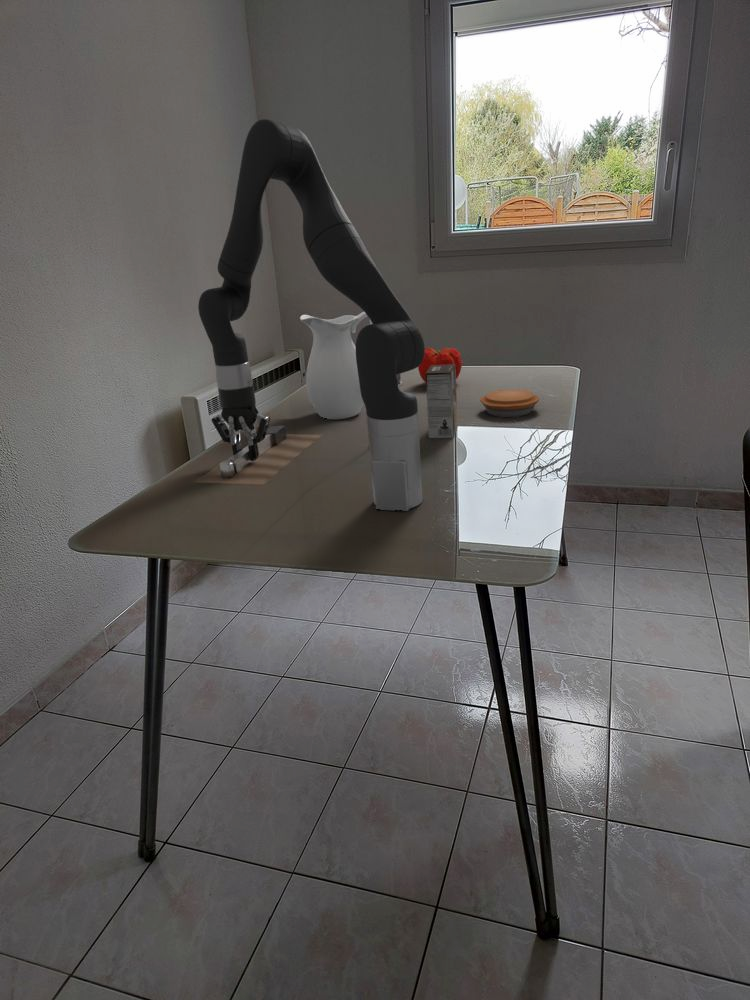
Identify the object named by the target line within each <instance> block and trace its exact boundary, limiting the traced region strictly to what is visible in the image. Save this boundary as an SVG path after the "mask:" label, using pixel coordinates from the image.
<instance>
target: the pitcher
mask: <svg viewBox="0 0 750 1000" xmlns="http://www.w3.org/2000/svg"><path fill="white" fill-rule="evenodd" d="M367 317H368V316H367V314H366V313H365V312H364V311H362V312H361V313H359V314H358V315H352V314H347V315H341V316H338V317H336V318H333V319H332V318H330V319H323V318H320V317H316V316H311V315H309V314H302V315H301V316H300V317H299V320H300V322H302V323H304V324H305V325H306V326H307V327H309V329H310V330H311V333H312V337H313V339H312V340H313V341H312V347H311V351H310V355H309V357H308V362H307V367H306V375H305V385H306V392H307V395H308V399H309V402H310V404H311V405H312V407H313V409H314V410H315V411H316V413H317V414H318V415H319V416H320V417H321V418H322V417H323V418H322V419H324V418H327V419H326V420H342V419H343V420H344V419H345V420H346V419H349V418H353V417H355V416H358V415H359V414H360V413H361V411H362V409H363V407H364V406H365V404H364V402H363V399H362V396H361V391H360V384H359V377H358V370H357V362H356V350H355V349H356V344H355V343H354V341H353V339H352V334H355V333H356V331H357V330H356V329H357V326H358V325H359V324H360V322H362V320H364V319H365V318H367ZM368 318H369V317H368ZM351 333H352V334H351Z"/></svg>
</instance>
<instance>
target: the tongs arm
mask: <svg viewBox="0 0 750 1000" xmlns="http://www.w3.org/2000/svg"><path fill="white" fill-rule="evenodd" d="M286 434H287V431H286V425H278V427H276V428H275V429H273V430H272V431H271V432H269V433H268V435H266V436H265V439H264V440H262V441H261V442H260V443H258V451H259V456H260V455H261V454H263V453H264V452H265V451H267V450H268V449H269V448H271V447H272V446H273V445H278V444H279V443H280V442H282V441H283V440H284V439H286V438H287V437H286ZM231 461H232V462H233V466H234V472H235V473H238V472H239V471H240V470H242V469H243V468H244V467H246V466H247V465H248V464H250V463H251V462H252V461H251V460H250V455H249V448H248V449H246V450H245V451H244V452H242V453H241V454H239V455H238V456H237V457H235V458H234V459H232V460H231Z"/></svg>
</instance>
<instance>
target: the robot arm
mask: <svg viewBox="0 0 750 1000" xmlns="http://www.w3.org/2000/svg"><path fill="white" fill-rule="evenodd" d="M244 142H245V143H244V145H243V150H242V157H241V160H240V161H241V162H240V167H239V173H238V180H237V186H236V193H235V197H234V205H233V211H232V216H231V219H230V225H229V229H228V232H227V236H226V238H225V241H224V244H223V247H222V250H221V252H220V257H219V259H218V263H217V272H218V274H219V275H220V276H221V278H222V279H223V282H222V285H221V286H220V287H215V288H208V289H206V290H204V291H203V292H202V293H201V295H200V297H199V299H198V315H199V318H200V320H201V322H202V326H203V328H204V330H205V333H206V335H207V337H208V340H209V342H210V344H211V346H212V353H213V359H214V360H213V361H214V365H215V378H216V386H217V390H218V398H219V402H220V406H221V409H222V410H221V413H220V414H218V415H216V416H214V417H212V418H211V423H212V424H213V426H214V428H215V429H216V431H217V433H218V435H219V436H220V438H221V440H222V442H224V443H229V444H230V445H231V448H232V454H233V455H235V454H237V453H238V452H240V451H241V450H242V449H243V447H242V445H243V444H242V442H241V432H242V431H243V434H244V435H243V436H245V437H246V440H247V442H248V445H249V446H248V448H249V455H250V460H251V461H255V460H256V459H257V457H259V451H258V443H260V442H261V441H262V440H264V439H265V436H266V432H267V429H268V428H269V424H270V422H271V417H270V415H263V414H260V413H259V410H258V409H257V407H256V402H257V401H256V396H255V395H256V394H255V387H254V378H253V375H252V374H253V373H252V370H251V366H250V361H249V356H248V355H249V354H248V349H247V342H246V339H245V337H244V336H243V335H242V334H241V333H237V332H234V329H233V327H232V324H231V322H233V321H237V320H239V319H241V318H242V317H243V316H244V314H245V313H246V312H247V310H248V306H249V304H250V298H251V291H252V290H251V289H252V279H253V278H252V277H253V275H254V273H255V270H256V267H257V265H258V261H259V259H260V257H261V254H262V251H263V247H264V245H263V244H264V229H263V221H262V201H263V197H264V193H265V191H266V188H267V186H268V183H269V181H270V179H272V180H276V181H280V182H281V181H282V182H283V183H284V184H286V186H287V187H288V188H289V189H290V191H291V192H292V194H293V195H294V197H295V199H296V200H297V202H298V204H299V207H300V209H301V212H302V237H303V243H304V245H305V249H306V250H307V252H308V254H309V255H310V258H311V259H312V261H313V263H314V264H315V267H316V268H317V270H318V272H319V274H320V275H321V276H322V277H323V279H324V280H325V281H326V282H327V283H328V284H329V285H330V286H332V287H333V288H335V290H337V291H338V292H340V293H341V294H342V295H343V296H345V297H346V298H348V299H349V300H351V302H353V303H354V304H355V305H357V306H358V307H359V308H360V309H361V310H362V312H365V313H366V314H367V316H368V318H370V319H369V321H370V320H371V322H372V323H373V324H371V325H370V324H368V325H365V326H364V327H362V329H360V330H359V332H358V334H357V335H356V336H357V337H356V340H355V347H356V349H355V350H356V362H357V370H358V377H359V384H360V391H361V396H362V399H363V402H364V406H365V411H366V412H365V413H366V421H367V422H366V423H367V436H368V437H367V439H368V447H369V449H368V450H369V461H370V470H371V471H370V473H371V475H370V476H371V486H372V497H373V503H374V506H375V505H376V506H375V510H376V509H380V511H395V510H398V511H399V510H402V511H401V512H408V511H410V509H412V508H415V507H417V506H419V505H420V504H422V502H423V489H422V487H423V486H422V468H421V450H420V449H421V447H420V433H419V432H420V430H419V425H420V424H419V412H418V411H419V406H418V399H417V397H416V396H415V395H414V394H413V393H411V392H406V391H401V390H400V387H399V388H398V383H397V376H396V374H400V373H401V374H403V373H406V372H409V371H412V370H415V369H417V368H418V366H419V365H420V364H421V363H422V361H423V359H424V354H425V348H426V346H425V343H424V338H423V336H422V334H421V331H420V329H419V327H418V325H417V323H416V322H415V320H414V319H413V318H412V317H411V316H410V314H409V312H408V311H407V309H406V308H405V307H404V306H403V305H402V303H401V302H400V300H399V299H398V297H397V296H396V295H395V293H394V292H393V290H392V289H391V288H390V286H389V284H388V283H387V281H386V280H385V278H384V276H383V275H382V273H381V272H380V270H379V268H378V267H377V265H376V264H375V262H374V261H373V259H372V257H371V255H370V254H369V252H368V249H367V247H366V246H365V244H364V242H363V240H362V239H361V237H360V235H359V233H358V231H357V230H356V228H355V226H354V224H353V223H352V222H351V220H350V218H349V217H348V215H347V214H346V212H345V210H344V208H343V207H342V205H341V202H340V201H339V199H338V197H337V195H336V194H335V192H334V190H333V189H332V187H331V185H330V183H329V181H328V179H327V178H326V175H325V172H324V171H323V168H322V165H321V162H320V161H319V159H318V156H317V154H316V152H315V149H314V147H313V146H312V143H311V142H310V140H309V138H308V137H307V135H306V134H305V133H304V132H303V131H301V130H300V129H298V128H297V127H295V126H293V125H289V124H286V123H283V122H279V121H276V120H273V119H267V118H263V119H262V118H261V119H259V120H257V121H255V123H254V124H253V125H252V126H251V127H250V129H249V131H248V133H247V135H246V139H245V141H244ZM256 422H257V425H258V427H256V424H255V423H256ZM233 455H232V456H233ZM398 511H397V512H398ZM399 512H400V511H399Z"/></svg>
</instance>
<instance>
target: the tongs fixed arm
mask: <svg viewBox="0 0 750 1000" xmlns="http://www.w3.org/2000/svg"><path fill="white" fill-rule="evenodd" d="M278 426H279V425H278ZM278 426H277V425H276V426H275V425H273V426H272V425H271V426H270V427H268V429H267V432H266V435H268V433H269V432H271V431H272V430H273V429H275V428H276V427H278ZM247 445H248V446H249V444H247ZM247 445H246V446H247ZM246 446H245V448H244V447H243V448H244V449H243V448H242V450H241V451H240V452H238V453H237V454H235V455H234V456H233V455H231V456H232V457H231V456H230V457H231V458H230V457H228V458H229V459H228V458H227V459H228V460H227V459H226V460H227V461H225V460H224V461H221V462H220V463H219V465H220V470H221V476H222V478H223V479H229V478H233V477H234V476H235V472H234V466H233V462H232V461H231V460H232V459H234V458H235V457H237V456H238V455H239V454H241V453H242V452H244V451H245V450H246V449H248V446H247V447H246Z"/></svg>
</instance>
